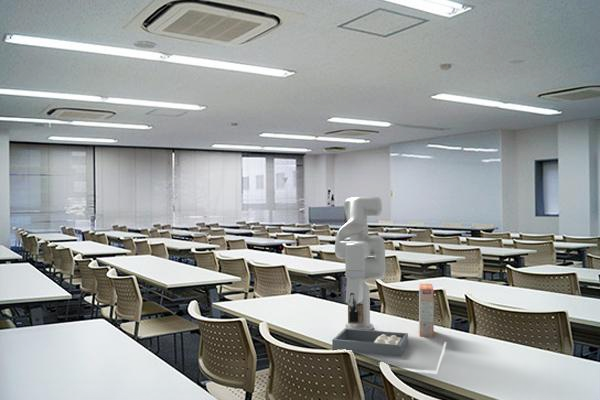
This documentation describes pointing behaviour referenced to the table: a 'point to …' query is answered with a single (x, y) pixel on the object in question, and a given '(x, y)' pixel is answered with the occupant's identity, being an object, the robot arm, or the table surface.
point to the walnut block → (360, 314)
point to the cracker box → (426, 310)
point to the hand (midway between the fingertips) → (355, 319)
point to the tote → (369, 342)
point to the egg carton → (388, 339)
